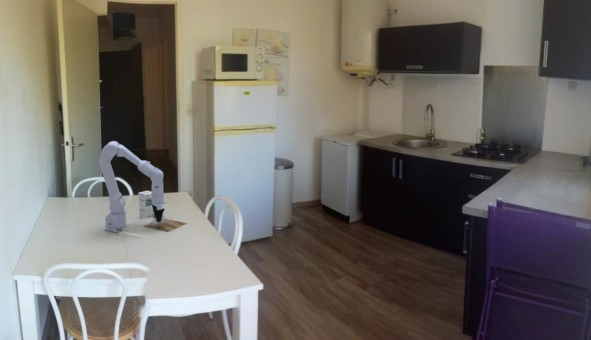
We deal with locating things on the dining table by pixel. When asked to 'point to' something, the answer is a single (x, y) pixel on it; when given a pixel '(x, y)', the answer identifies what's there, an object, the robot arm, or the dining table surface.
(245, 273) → the dining table surface
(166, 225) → the board
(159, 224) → the cube with square recess
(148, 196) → the syrup box
